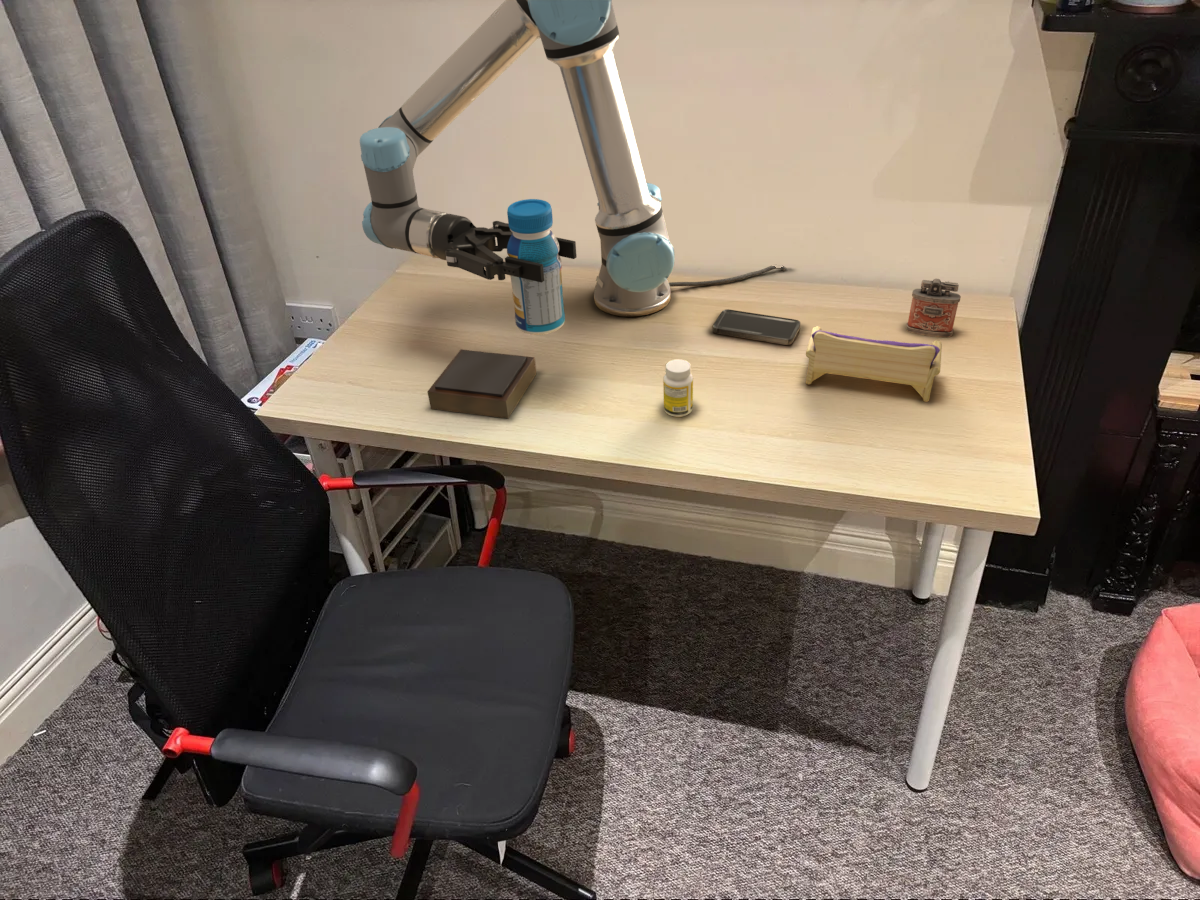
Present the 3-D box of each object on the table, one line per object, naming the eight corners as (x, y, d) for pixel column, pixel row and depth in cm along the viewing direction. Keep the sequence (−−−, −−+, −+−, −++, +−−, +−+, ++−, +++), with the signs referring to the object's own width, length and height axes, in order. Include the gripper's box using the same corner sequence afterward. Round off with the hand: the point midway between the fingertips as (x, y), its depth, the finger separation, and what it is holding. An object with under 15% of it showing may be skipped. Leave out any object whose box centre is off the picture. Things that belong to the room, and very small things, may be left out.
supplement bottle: (676, 397, 143) (677, 354, 138) (698, 408, 141) (699, 364, 135) (657, 410, 141) (657, 366, 136) (679, 421, 138) (679, 376, 133)
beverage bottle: (547, 341, 137) (535, 221, 124) (504, 329, 140) (489, 211, 128) (576, 318, 142) (567, 201, 130) (534, 307, 146) (522, 192, 134)
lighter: (904, 332, 157) (914, 282, 151) (906, 323, 159) (916, 274, 153) (951, 338, 154) (963, 288, 148) (953, 330, 156) (964, 279, 150)
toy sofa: (935, 375, 145) (946, 321, 139) (933, 403, 138) (945, 348, 132) (809, 359, 151) (814, 307, 145) (801, 385, 144) (807, 332, 138)
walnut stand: (536, 374, 152) (534, 354, 149) (508, 418, 141) (505, 398, 139) (463, 365, 155) (460, 346, 153) (430, 408, 144) (426, 389, 142)
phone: (723, 308, 165) (801, 320, 159) (723, 313, 165) (801, 325, 160) (711, 327, 159) (791, 340, 154) (710, 333, 160) (790, 346, 154)
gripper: (485, 234, 151) (595, 257, 141) (405, 283, 137) (521, 313, 127) (480, 192, 147) (593, 213, 137) (396, 238, 132) (516, 266, 123)
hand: (558, 261), depth 132 cm, fingers closed on beverage bottle, 8 cm apart
